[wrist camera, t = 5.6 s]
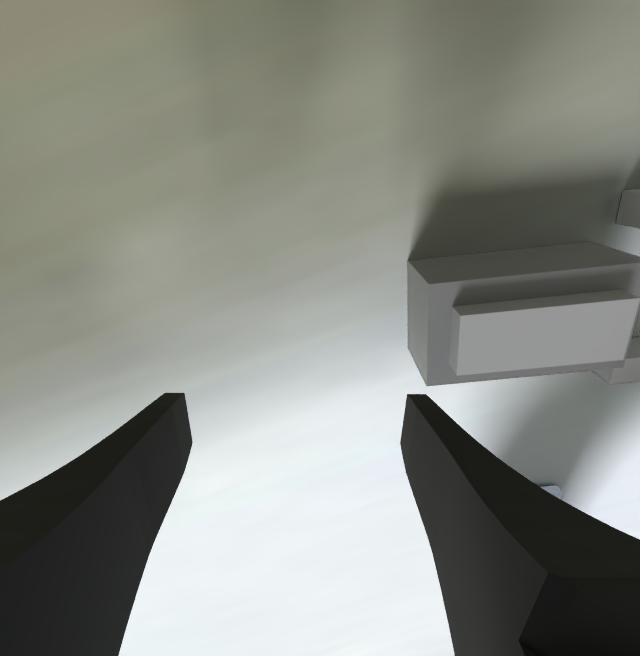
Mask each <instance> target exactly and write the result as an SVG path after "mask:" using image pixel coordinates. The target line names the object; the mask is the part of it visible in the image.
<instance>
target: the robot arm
mask: <svg viewBox="0 0 640 656" xmlns="http://www.w3.org/2000/svg"><path fill="white" fill-rule="evenodd" d="M400 444H401V449H402V455H403V460H404V464H405V469H406V473H407V476H408V480H409V483H410V486H411V489H412V492H413V495H414V498H415V501H416V504H417V506H418V509H419V512H420V515H421V518H422V521H423V524H424V527H425V530H426V533H427V536H428V539H429V543H430V546H431V549H432V553H433V557H434V561H435V565H436V570H437V574H438V578H439V582H440V587H441V591H442V596H443V600H444V605H445V609H446V614H447V619H448V623H449V628H450V633H451V638H452V643H453V648H454V653H455V656H640V540H639V539H637V538H635V537H633V536H630V535H628V534H626V533H624V532H621V531H619V530H617V529H615V528H613V527H611V526H609V525H607V524H605V523H603V522H601V521H599V520H597V519H595V518H594V517H592V516H590V515H588V514H586V513H584V512H582V511H580V510H578V509H577V508H575V507H573V506H571V505H569V504H568V503H566V502H564V501H562V500H561V498H562V491H561V490H560V488H559V487H558V486H543V487H539V486H538V485H536V484H534V483H533V482H531V481H530V480H528V479H527V478H525V477H524V476H522V475H521V474H520V473H518V472H517V471H515V470H514V469H512V468H511V467H509V466H508V465H507V464H505V463H504V462H503V461H501V460H500V459H499V458H497V457H496V456H495V455H493V454H492V453H491V452H490V451H488V450H487V449H486V448H485V447H483V446H482V445H481V444H480V443H479V442H477V441H476V440H475V439H474V438H473V437H471V436H470V435H469V434H468V433H467V432H466V431H465V430H464V429H462V428H461V427H460V426H459V425H458V424H457V423H456V422H455V421H454V420H453V419H452V418H450V417H449V416H448V415H447V414H446V413H445V412H444V411H443V410H442V409H441V408H440V407H439V406H438V405H437V404H436V403H435V402H434V401H433V400H432V399H430V398H429V397H428V396H427V395H426V394H407V400H406V407H405V414H404V421H403V428H402V435H401V442H400ZM191 446H192V436H191V430H190V424H189V418H188V412H187V406H186V400H185V394H184V393H165V394H163V395H162V396H160V397H159V398H158V399H156V400H155V401H154V402H152V403H151V404H150V405H148V406H147V407H146V408H145V409H143V410H142V411H141V412H140V413H138V414H137V415H136V416H134V417H133V418H132V419H130V420H129V421H128V422H127V423H125V424H124V425H123V426H121V427H120V428H119V429H117V430H116V431H115V432H113V433H112V434H110V435H109V436H108V437H106V438H105V439H103V440H102V441H100V442H99V443H98V444H96V445H95V446H93V447H92V448H91V449H89V450H88V451H86V452H85V453H83V454H82V455H80V456H79V457H77V458H76V459H74V460H72V461H71V462H69V463H68V464H66V465H64V466H63V467H61V468H59V469H58V470H56V471H54V472H53V473H51V474H49V475H48V476H46V477H44V478H42V479H41V480H39V481H37V482H35V483H33V484H31V485H29V486H27V487H26V488H24V489H22V490H20V491H18V492H16V493H14V494H12V495H10V496H8V497H7V498H5V499H3V500H1V501H0V656H118V655H119V651H120V647H121V644H122V640H123V637H124V633H125V630H126V626H127V623H128V620H129V616H130V613H131V610H132V607H133V603H134V600H135V597H136V593H137V590H138V587H139V584H140V581H141V578H142V575H143V572H144V569H145V566H146V563H147V559H148V556H149V554H150V551H151V549H152V546H153V543H154V541H155V538H156V536H157V534H158V531H159V529H160V527H161V525H162V522H163V520H164V518H165V515H166V513H167V511H168V509H169V506H170V504H171V502H172V499H173V497H174V495H175V492H176V490H177V488H178V485H179V483H180V481H181V478H182V476H183V474H184V471H185V468H186V464H187V461H188V457H189V454H190V450H191Z"/></svg>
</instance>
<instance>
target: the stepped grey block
mask: <svg viewBox="0 0 640 656" xmlns="http://www.w3.org/2000/svg"><path fill="white" fill-rule="evenodd" d="M407 274H408V349H409V351H410V353H411V355H412V357H413V360H414V362H415V364H416V366H417V368H418V370H419V372H420V374H421V376H422V378H423V380H424V382H425V384H426V386H434V385H445V384H455V383H466V382H476V381H487V380H498V379H508V378H519V377H529V376H540V375H550V374H561V373H571V372H582V371H593V370H603V369H614V368H623V366H624V363H625V359H626V356H627V352H628V349H629V345H630V342H631V338H632V334H633V331H634V327H635V324H636V320H637V317H638V313H639V309H640V257H638V256H635V255H632V254H628V253H625V252H622V251H619V250H616V249H612V248H609V247H606V246H603V245H600V244H596V243H593V242H590V241H588V242H579V243H569V244H560V245H550V246H541V247H531V248H521V249H512V250H502V251H493V252H483V253H474V254H464V255H454V256H445V257H435V258H426V259H416V260H407Z"/></svg>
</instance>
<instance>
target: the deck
mask: <svg viewBox="0 0 640 656" xmlns="http://www.w3.org/2000/svg"><path fill="white" fill-rule="evenodd" d="M616 223H617V224H622V225H626V226H631V227H635V228H640V189H631V190H623V192H622V197H621V201H620V206H619V211H618V215H617V220H616ZM593 372H594V373H595V374H597V375H598V376H599V377H600V378H602V379H603V380H604V381H606V382H607V383H608V384H620V383H630V382H640V337H633V338H631V342H630V345H629V349H628V352H627V356H626V359H625V363H624V366H623V368H614V369H603V370H593Z"/></svg>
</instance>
